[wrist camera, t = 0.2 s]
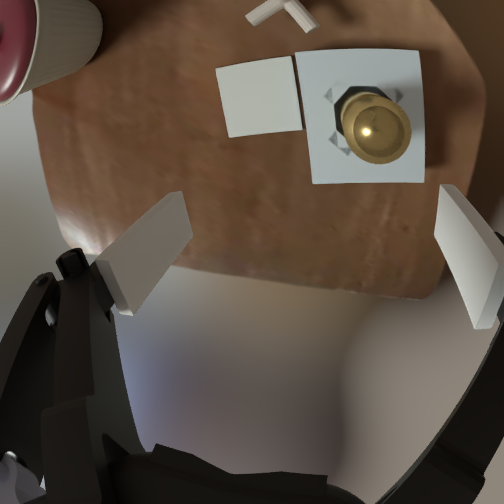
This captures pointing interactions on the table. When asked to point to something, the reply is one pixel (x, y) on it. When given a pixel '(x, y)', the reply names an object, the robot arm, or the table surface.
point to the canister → (44, 42)
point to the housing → (328, 102)
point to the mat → (259, 97)
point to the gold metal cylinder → (374, 127)
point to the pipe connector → (291, 5)
